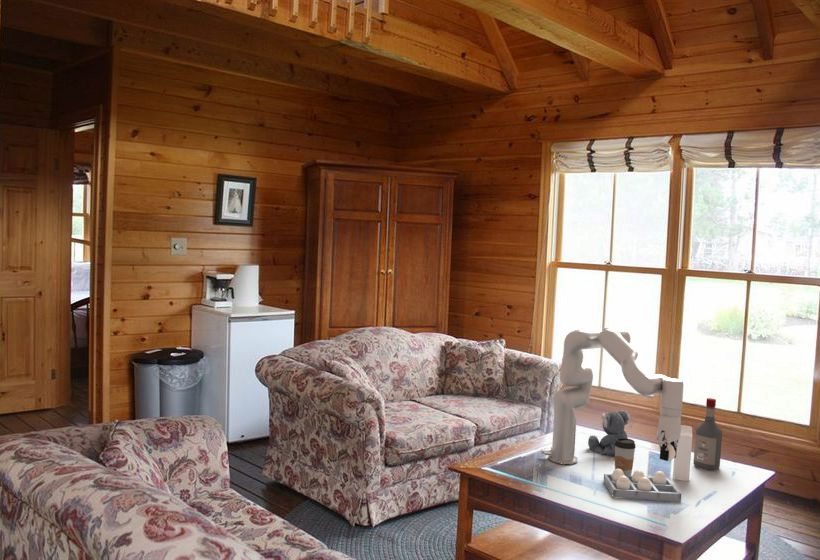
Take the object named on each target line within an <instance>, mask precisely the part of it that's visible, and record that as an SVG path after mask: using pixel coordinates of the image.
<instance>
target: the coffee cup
mask: <svg viewBox="0 0 820 560" xmlns="http://www.w3.org/2000/svg"><path fill="white" fill-rule="evenodd" d="M614 445H615V456H614V470H615V469H621V470H622V471H623V473H624V475H628V476H632V472H633V467H634V466H633V465H634V461H635V460H634V459H635V458H634V456H635V452H636V442H635V440H633V439H632V438H617V439H616V441H615V444H614Z"/></svg>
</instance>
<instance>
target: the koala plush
mask: <svg viewBox="0 0 820 560" xmlns="http://www.w3.org/2000/svg"><path fill="white" fill-rule="evenodd" d="M600 416H601V419H602V429H603V431H604V432H605V436H603V437H602V438H601V439H600V440H599V439H598V436H596V435H590V436H589V437H588V441H587V445H588V448H589V449H590V451H593V450H594V451H593V452H595V451H596V452H595V453H598V452H599V453H598V454H600V453H601V454H600V455H602V454H603V455H602V456H606V455H607V456H609V457H613V456H614V457H615V445H614V444H615V441H616V439H617V438H628V435H627V434H628V433H627V432H626V431H625V427H626V425H628V424H629V422H630V419H631V416H630V414H629V413H628V411H627V410H625V409H621V410H619V411H618V412H616V411H611V412H610V411H609V412H608V413H602V414H601V415H600ZM628 439H629V438H628Z"/></svg>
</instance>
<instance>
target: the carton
mask: <svg viewBox="0 0 820 560" xmlns="http://www.w3.org/2000/svg"><path fill="white" fill-rule="evenodd" d="M603 483H604V484H605V487H606V488H607V489H609V490H608V491H609V493H610V492H611V493H610V494H611V496H612V495H613V496H612V498H613V497H622V498H621V499H628V498H635V499H634V500H644V499H648V500H647V501H663V502H665V501H666V502H682V496H683V495H682V493H681V492H680V491H679V489H678V488H677V487H676V486H675V485H674V484H673V482H672V481H671V480H670V479H669V478H668V477H666V474H665V472H663V471H662V470H657V471H655V472H654V475H653V476H646V475H645V473H644V471H642V470H641V469H636V470H634V472H633V474H631V476H628V475H624V473H623V471H622V470H621V469H615V468H614V470H613V472H612V473H610V474H609V473H608V474H607V473H603Z"/></svg>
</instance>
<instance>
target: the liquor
mask: <svg viewBox="0 0 820 560" xmlns="http://www.w3.org/2000/svg"><path fill="white" fill-rule="evenodd" d="M716 402H717V400H716V398H711V397H708V398H706V403H705V405H706V409H705V418H704V421H703V422H701V423H700V424H699V425H698V426H697V427H696V428H695V435H694V436H695V438H694V452H693V466H694V467H695V468H696V469H699V470H700V469H701V470H703V471H706V472H714V471H716V470H717V471H718V470H719V469H720V467H721V455H722V442H723V441H722V440H723V430H722V429H721V427H720V426H719V425H718V424H717V423H716V419H715V414H716V405H717V404H716Z"/></svg>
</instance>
